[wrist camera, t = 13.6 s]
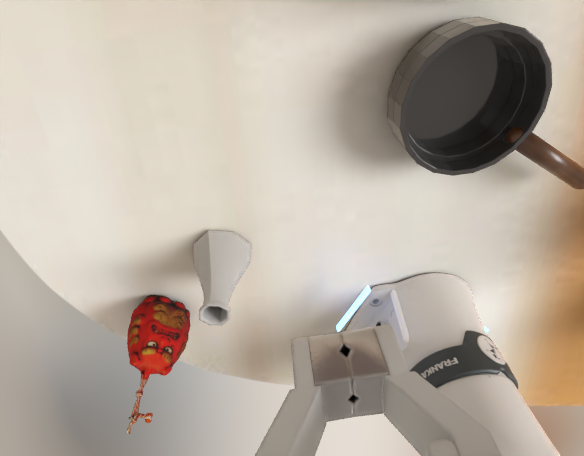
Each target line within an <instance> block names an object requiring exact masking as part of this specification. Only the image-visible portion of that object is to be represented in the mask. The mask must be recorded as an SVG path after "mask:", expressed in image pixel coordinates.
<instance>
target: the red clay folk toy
mask: <svg viewBox="0 0 584 456" xmlns="http://www.w3.org/2000/svg"><path fill="white" fill-rule="evenodd" d="M189 329H190V313H189V311H188V310H186V309H185V306H184V304H183V303H180V302H173V301H171V300H170V298H168V297H163V296H156V295H150V296H147V297H146V298H145V300H144V301H143V302H142V303H141V304H140V305H139V306H138V307H137V308H136V309H135V310H134V311H133V313H132V316H131V323H130V325H129V329H128V343H127V344H128V351H129V358H130V364H131V365H133V366H135V367H136V368H137V369H139V370H140V371H141V385H140V389H139V390H138V391H137V392H136V397H137V401H136V403H135V406H134V409H133V412H132V415H131V417H129V419H131V420H132V421H131V423H130V425H129V427H128V431H127V433H128V434H130V428H131V426H132V424H134V423H135V422H136V421H137V418H139V417H141V418H143V419H145V421H146V422H147V423H149V422H151V417H152V413H147V414H140V413H138V409H139V403H140V398H141V396H142V395H143V391H142V390H143V387H144V385H145V384H146V382H147V380H148V378H149V375H150V374H161V375H167V374H168V373H169V372H170V371H171V369H172V366H173V364H174V363H175V362H176V361H177V360H178V359H179V357H180V355H181V353H182V352H183V351H184V349H185V347H186V343H187V340H188V333H189Z"/></svg>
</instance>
